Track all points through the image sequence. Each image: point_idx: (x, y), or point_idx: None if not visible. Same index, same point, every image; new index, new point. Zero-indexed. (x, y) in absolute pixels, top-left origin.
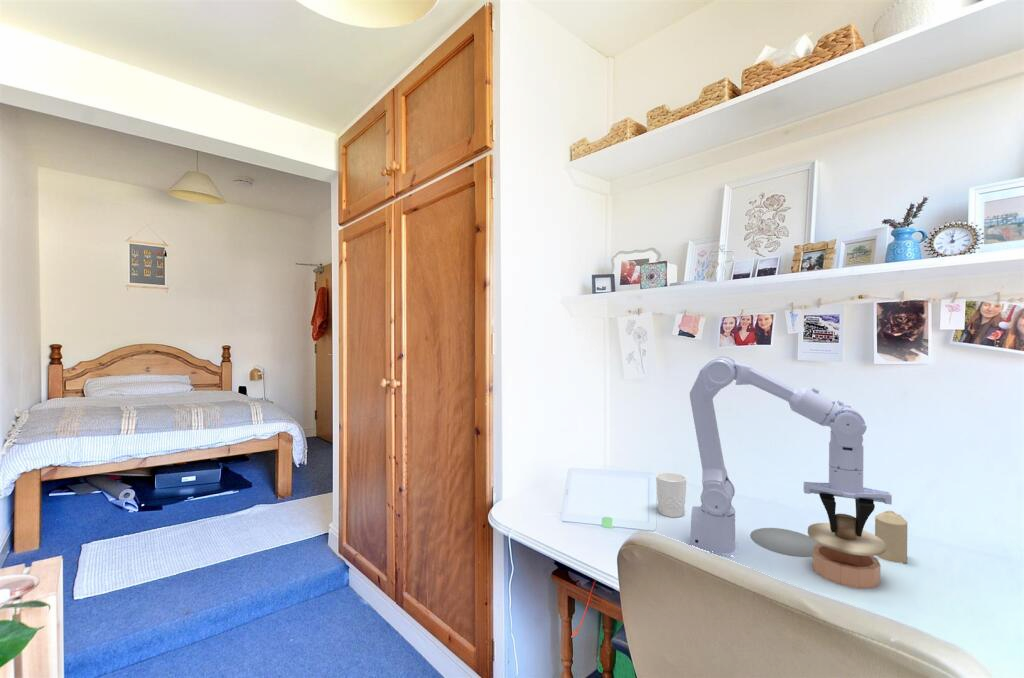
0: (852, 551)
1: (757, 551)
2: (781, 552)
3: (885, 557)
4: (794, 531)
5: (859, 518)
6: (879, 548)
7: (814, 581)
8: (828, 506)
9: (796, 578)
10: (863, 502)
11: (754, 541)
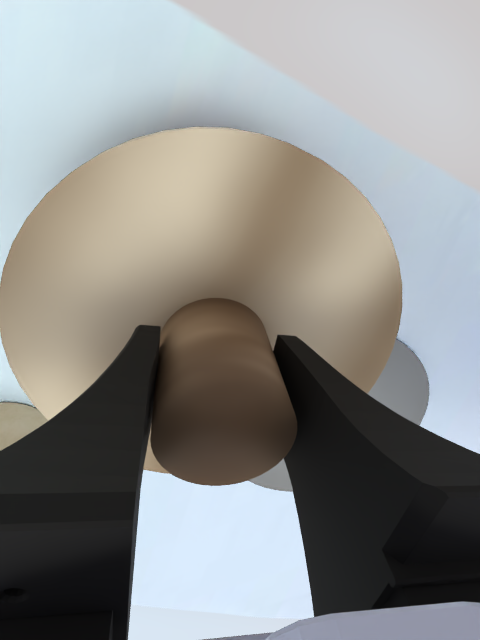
0: (237, 132)
1: (441, 333)
2: None
3: (30, 416)
4: (273, 488)
5: (143, 398)
6: (44, 231)
7: (337, 158)
8: (440, 450)
9: (398, 162)
10: (66, 595)
11: (427, 388)
